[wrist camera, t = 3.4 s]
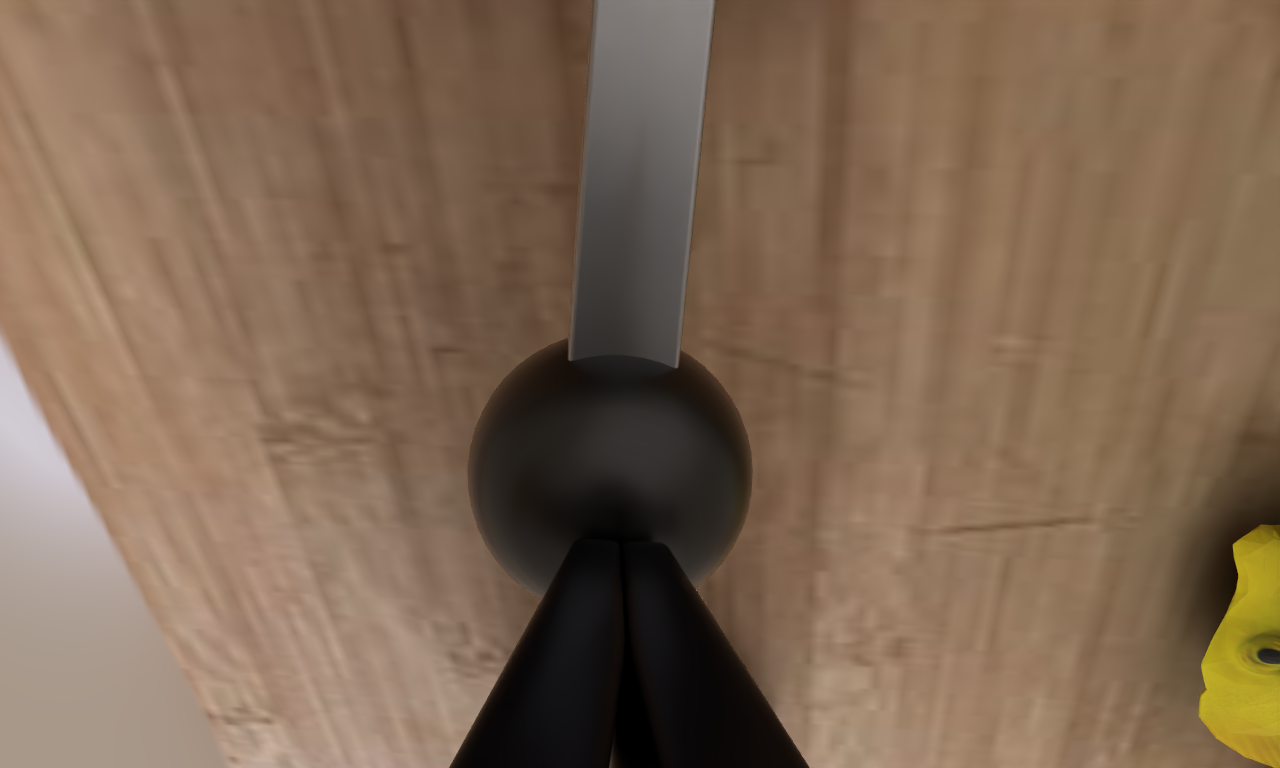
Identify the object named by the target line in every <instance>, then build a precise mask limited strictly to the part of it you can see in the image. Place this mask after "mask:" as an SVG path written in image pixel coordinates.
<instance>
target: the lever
mask: <svg viewBox="0 0 1280 768" xmlns="http://www.w3.org/2000/svg"><path fill="white" fill-rule="evenodd" d="M715 8H716V0H592V5H591V19H590V33H589V47H588V61H587V75H586V89H585V103H584V117H583V131H582V145H581V160H580V174H579V188H578V202H577V216H576V230H575V244H574V258H573V272H572V286H571V300H570V314H569V329H568V338H567V339H564V340H562V341H559V342H556V343H554V344H551V345H549V346H547V347H546V348H544V349H542V350H540V351H538V352H537V353H535V354H533V355H532V356H530V357H529V358H528V359H526V360H525V361H523V362H522V363H521V364H519V365H518V366H517V367H516V368H515V369H514V370H513V371H512V372H511V373H510V374H509V375H508V376H507V377H506V378H505V379H504V380H503V381H502V382H501V384H500V385H499V386H498V388H497V389H496V390H495V391H494V393H493V394H492V396H491V398H490V399H489V401H488V403H487V405H486V406H485V408H484V410H483V412H482V414H481V416H480V419H479V421H478V423H477V426H476V428H475V431H474V435H473V439H472V443H471V447H470V455H469V464H468V490H469V496H470V502H471V507H472V510H473V514H474V517H475V520H476V523H477V526H478V529H479V531H480V534H481V536H482V538H483V540H484V542H485V544H486V546H487V547H488V549H489V550H490V552H491V553H492V555H493V556H494V558H495V559H496V561H497V562H498V563H499V564H500V565H501V567H502V568H503V569H504V570H505V571H506V572H507V574H508V575H509V576H510V577H511V578H512V579H513V580H515V581H516V582H517V583H518V584H519V585H520V586H521V587H523V588H524V589H525V590H527V591H528V592H530V593H531V594H533V595H534V596H536V597H537V598H539V599H541V600H542V598H543V596H544V595H545V593H546V591H547V589H548V587H549V586H550V584H551V582H552V580H553V578H554V576H555V575H556V573H557V571H558V569H559V567H560V566H561V564H562V562H563V560H564V558H565V556H566V555H567V553H568V551H569V549H570V547H571V546H572V544H573V543H574V542H575V541H576V540H577V539H579V538H588V539H608V540H615V541H616V542H618V544H619V546H620V549H621V546H622V545H623V543H625V542H626V541H645V542H661V543H664V544H665V545H667V546H668V547H669V549H670V550H671V552H672V553H673V555H674V556H675V558H676V559H677V561H678V563H679V564H680V566H681V567H682V569H683V570H684V572H685V574H686V575H687V577H688V578H689V580H690V581H691V583H692V585H693V586H694V588H697V587H698V586H699V585H700V584H702V583H703V582H704V581H705V580H706V579H707V578H708V577H709V576H711V575H712V574H713V572H714V571H715V570H716V569H717V568H718V567H719V566H720V564H721V563H722V562H723V561H724V559H725V558H726V556H727V555H728V553H729V552H730V550H731V549H732V547H733V545H734V543H735V541H736V539H737V537H738V535H739V533H740V531H741V529H742V527H743V524H744V521H745V518H746V515H747V512H748V508H749V503H750V498H751V491H752V472H753V469H752V457H751V450H750V445H749V441H748V436H747V433H746V430H745V427H744V425H743V422H742V419H741V417H740V414H739V412H738V410H737V408H736V406H735V405H734V403H733V401H732V399H731V397H730V396H729V395H728V393H727V392H726V391H725V389H724V388H723V387H722V385H721V384H720V383H719V381H718V380H717V379H716V378H715V377H714V376H713V375H712V374H711V373H710V372H709V371H708V370H707V369H706V368H705V367H704V366H703V365H702V364H700V363H699V362H698V361H696V360H695V359H694V358H693V357H691V356H690V355H688V354H686V353H685V352H683V351H681V340H682V330H683V320H684V311H685V301H686V291H687V281H688V272H689V262H690V252H691V242H692V233H693V223H694V213H695V203H696V194H697V184H698V174H699V164H700V155H701V145H702V135H703V125H704V116H705V106H706V96H707V86H708V77H709V67H710V57H711V47H712V38H713V28H714V18H715Z"/></svg>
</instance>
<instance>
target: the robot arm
mask: <svg viewBox="0 0 1280 768" xmlns="http://www.w3.org/2000/svg"><path fill="white" fill-rule="evenodd" d="M449 768H809V766H808V765H807V763H806V761H805V760H804V758H803V757H802V755H801V754H800V752H799V750H798V749H797V747H796V746H795V744H794V743H793V741H792V739H791V738H790V736H789V735H788V733H787V732H786V730H785V729H784V727H783V725H782V724H781V722H780V721H779V719H778V718H777V716H776V714H775V713H774V711H773V710H772V708H771V707H770V705H769V703H768V702H767V700H766V699H765V697H764V696H763V694H762V693H761V691H760V689H759V688H758V686H757V685H756V683H755V682H754V680H753V678H752V677H751V675H750V674H749V672H748V671H747V669H746V667H745V666H744V664H743V663H742V661H741V660H740V658H739V657H738V655H737V653H736V652H735V650H734V649H733V647H732V646H731V644H730V642H729V641H728V639H727V638H726V636H725V635H724V633H723V631H722V630H721V628H720V627H719V625H718V624H717V622H716V621H715V619H714V617H713V616H712V614H711V613H710V611H709V610H708V608H707V606H706V605H705V603H704V602H703V600H702V599H701V597H700V595H699V594H698V592H697V591H696V589H695V588H694V586H693V585H692V583H691V581H690V580H689V578H688V577H687V575H686V574H685V572H684V570H683V569H682V567H681V566H680V564H679V563H678V561H677V559H676V558H675V556H674V555H673V553H672V552H671V550H670V549H669V547H668V546H667V545H665V544H664V543H661V542H645V541H626V542H625V543H623V545H622V546H621V549H620V546H619V544H618V542H616V541H615V540H608V539H588V538H579V539H577V540H576V541H575V542H574V543H573V544H572V546H571V547H570V549H569V551H568V553H567V555H566V556H565V558H564V560H563V562H562V564H561V566H560V567H559V569H558V571H557V573H556V575H555V576H554V578H553V580H552V582H551V584H550V586H549V587H548V589H547V591H546V593H545V595H544V596H543V598H542V600H541V602H540V604H539V606H538V607H537V609H536V611H535V613H534V615H533V616H532V618H531V620H530V622H529V624H528V626H527V627H526V629H525V631H524V633H523V635H522V636H521V638H520V640H519V642H518V644H517V646H516V647H515V649H514V651H513V653H512V655H511V656H510V658H509V660H508V662H507V664H506V665H505V667H504V669H503V671H502V673H501V675H500V676H499V678H498V680H497V682H496V684H495V685H494V687H493V689H492V691H491V693H490V695H489V696H488V698H487V700H486V702H485V704H484V705H483V707H482V709H481V711H480V713H479V715H478V716H477V718H476V720H475V722H474V724H473V725H472V727H471V729H470V731H469V733H468V735H467V736H466V738H465V740H464V742H463V744H462V745H461V747H460V749H459V751H458V753H457V754H456V756H455V758H454V760H453V762H452V764H451V765H450V767H449Z"/></svg>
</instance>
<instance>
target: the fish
mask: <svg viewBox="0 0 1280 768" xmlns="http://www.w3.org/2000/svg"><path fill="white" fill-rule="evenodd" d="M1233 552H1234V559H1235V563H1236V567H1237V571H1238V582H1237V589H1236V591H1235V594H1234V596H1233V598H1232V601H1231V603H1230V605H1229V608H1228V610H1227V613H1226V615H1225V617H1224V619H1223V620H1222V622H1221V624H1220V626H1219V628H1218V630H1217V631H1216V633H1215V635H1214V637H1213V639H1212V641H1211V643H1210V645H1209V647H1208V650H1207V652H1206V654H1205V657H1204V659H1203V661H1202V664H1201V669H1202V673H1203V678H1204V682H1205V687H1206V688H1205V690H1204V691H1203V692H1202V693H1201V694H1200V698H1199V711H1198V716H1199V717H1200V718H1201V720H1202V721H1203V722H1204V723H1205V725H1206V726H1207V727H1208V729H1209V730H1210V731H1211V732H1212V734H1213V735H1214V736H1215V737H1216V738H1217V739H1218V740H1220V741H1221V742H1223V743H1224V744H1226V745H1227V746H1229V747H1231V748H1232V749H1234V750H1235V751H1237V752H1238V753H1240V754H1241V755H1243V756H1244V757H1247V758H1250V759H1252V760H1255V761H1258V762H1260V763H1263V764H1266V765H1268V766H1271V767H1274V768H1280V525H1259V526H1258V527H1257V528H1255V529H1254V530H1252V531H1251V532H1250V533H1248V534H1247V535H1245V536H1244V537H1242V538H1241V539H1239V540H1238V541H1237V542H1236V543H1234V544H1233Z"/></svg>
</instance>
